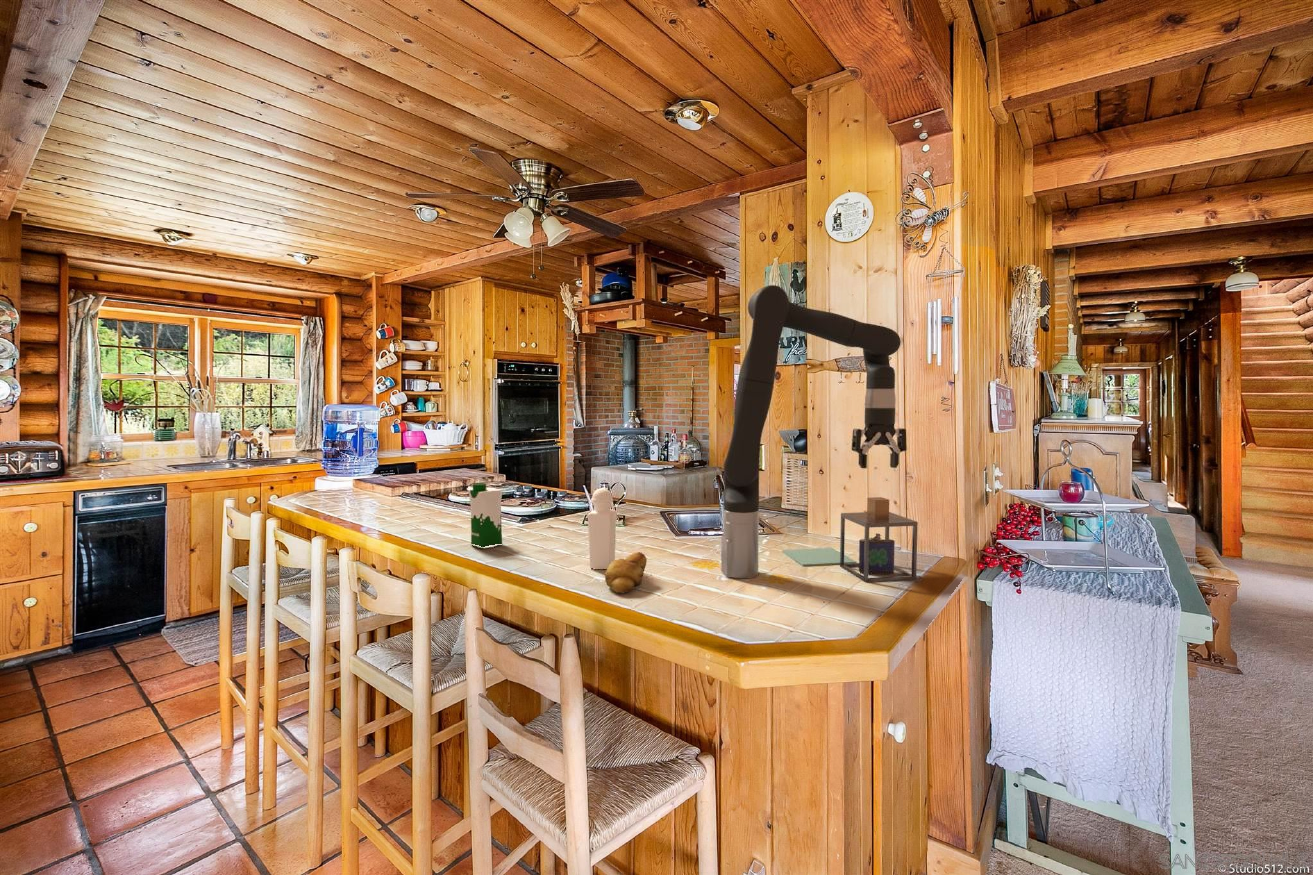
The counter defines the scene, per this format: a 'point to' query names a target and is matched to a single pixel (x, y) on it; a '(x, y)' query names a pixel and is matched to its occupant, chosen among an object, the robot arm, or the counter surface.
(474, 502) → the milk carton
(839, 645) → the counter surface
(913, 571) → the metal frame side table
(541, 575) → the counter surface
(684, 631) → the counter surface
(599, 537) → the beige bottle
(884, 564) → the flask
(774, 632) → the counter surface
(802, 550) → the mat
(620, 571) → the bread roll
